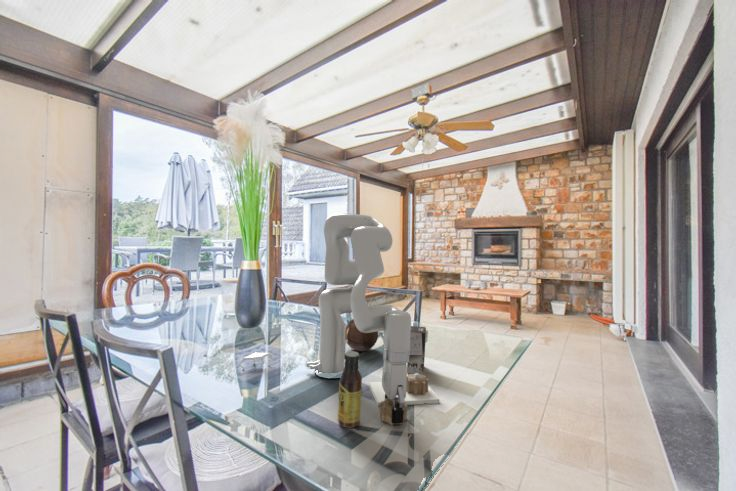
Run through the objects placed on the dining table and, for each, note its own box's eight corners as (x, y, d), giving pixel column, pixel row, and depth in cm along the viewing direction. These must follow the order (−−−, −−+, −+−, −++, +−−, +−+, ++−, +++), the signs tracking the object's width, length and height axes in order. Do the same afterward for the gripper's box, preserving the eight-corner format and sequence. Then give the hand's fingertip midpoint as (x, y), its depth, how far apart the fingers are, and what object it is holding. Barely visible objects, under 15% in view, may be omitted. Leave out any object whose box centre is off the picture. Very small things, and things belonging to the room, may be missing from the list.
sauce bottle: (337, 416, 98) (340, 348, 97) (359, 416, 99) (362, 348, 98) (337, 430, 92) (340, 357, 91) (360, 429, 92) (363, 357, 91)
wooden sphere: (376, 345, 161) (377, 313, 161) (378, 356, 146) (380, 322, 146) (344, 344, 161) (345, 312, 160) (343, 356, 146) (344, 321, 145)
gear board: (377, 406, 105) (378, 385, 105) (369, 385, 119) (369, 366, 118) (439, 402, 109) (440, 382, 108) (423, 383, 122) (424, 364, 122)
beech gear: (383, 426, 94) (384, 410, 94) (377, 412, 102) (378, 397, 101) (409, 424, 96) (410, 409, 96) (401, 410, 103) (402, 396, 103)
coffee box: (423, 375, 129) (425, 333, 129) (406, 373, 131) (408, 331, 130) (424, 366, 138) (426, 326, 138) (408, 364, 140) (410, 325, 139)
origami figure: (260, 360, 137) (261, 348, 137) (274, 366, 132) (274, 353, 132) (233, 369, 128) (233, 356, 127) (246, 375, 123) (247, 362, 123)
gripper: (376, 344, 106) (374, 400, 106) (391, 367, 89) (388, 433, 89) (400, 344, 107) (397, 399, 108) (418, 366, 90) (415, 431, 91)
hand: (393, 414), depth 99 cm, fingers closed on beech gear, 7 cm apart
